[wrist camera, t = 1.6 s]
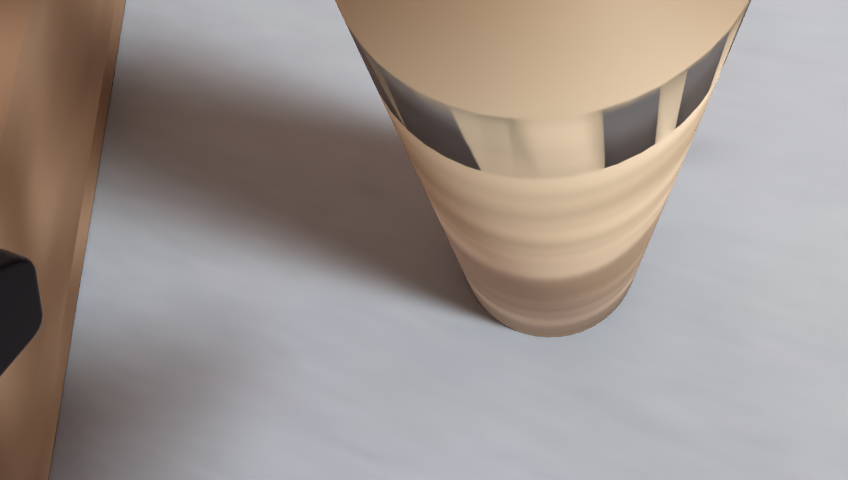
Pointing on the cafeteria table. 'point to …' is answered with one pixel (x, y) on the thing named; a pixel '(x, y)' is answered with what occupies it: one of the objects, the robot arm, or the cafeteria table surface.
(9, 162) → the socket block
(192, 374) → the cafeteria table surface
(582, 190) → the beech pin
